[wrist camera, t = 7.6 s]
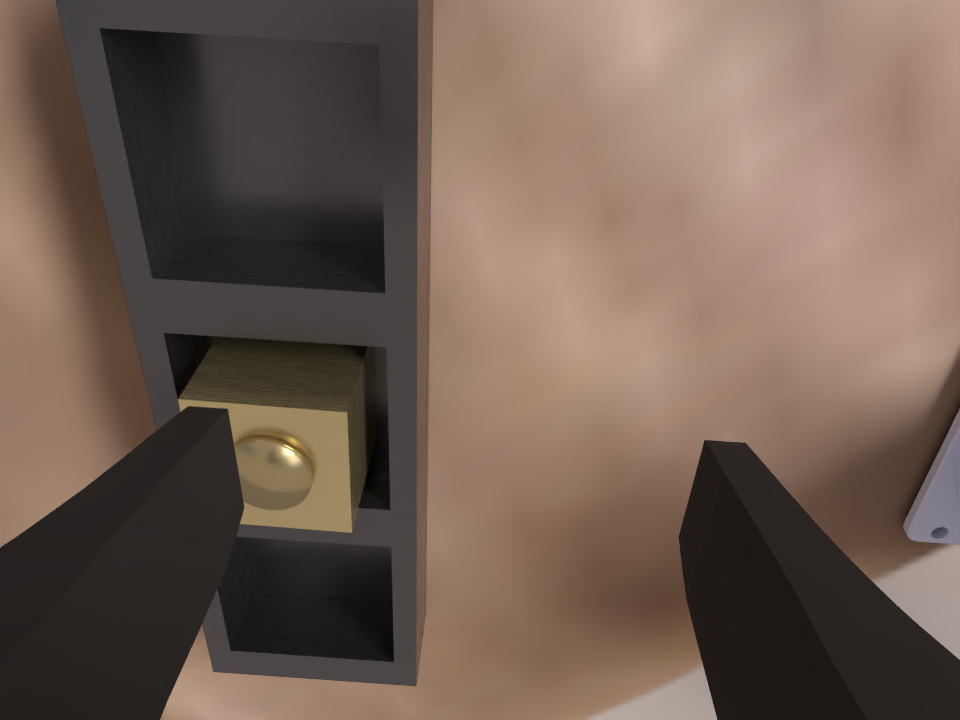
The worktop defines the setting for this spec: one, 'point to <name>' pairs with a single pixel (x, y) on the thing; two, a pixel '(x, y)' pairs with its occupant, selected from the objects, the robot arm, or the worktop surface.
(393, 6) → the cabinet frame
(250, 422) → the wooden knob block
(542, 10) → the worktop surface
